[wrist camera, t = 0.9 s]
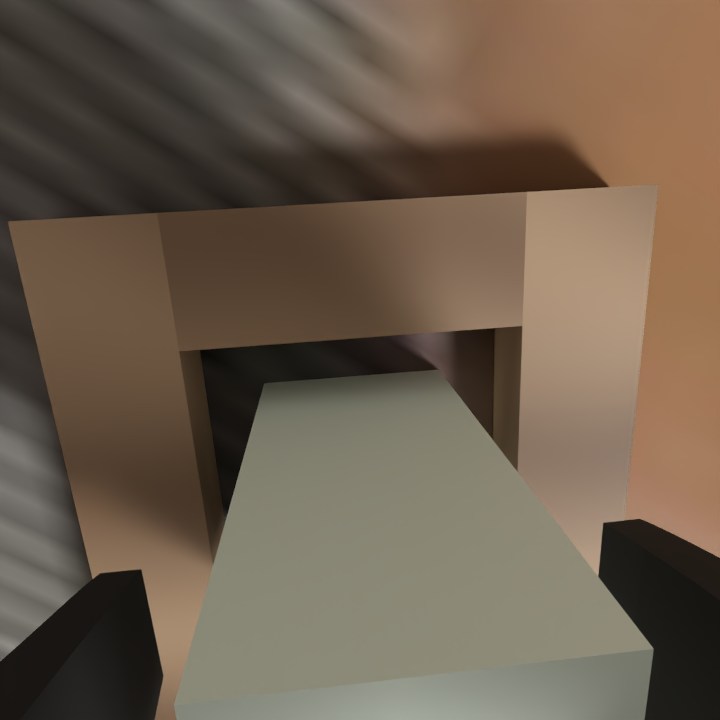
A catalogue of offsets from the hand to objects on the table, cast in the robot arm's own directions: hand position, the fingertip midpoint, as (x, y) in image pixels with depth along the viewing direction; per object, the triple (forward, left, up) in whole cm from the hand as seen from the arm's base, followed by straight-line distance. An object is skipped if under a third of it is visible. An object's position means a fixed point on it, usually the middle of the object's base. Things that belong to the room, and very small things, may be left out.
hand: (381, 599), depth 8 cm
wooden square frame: (0, 0, -5) cm, 5 cm away
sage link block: (0, 0, -5) cm, 5 cm away
